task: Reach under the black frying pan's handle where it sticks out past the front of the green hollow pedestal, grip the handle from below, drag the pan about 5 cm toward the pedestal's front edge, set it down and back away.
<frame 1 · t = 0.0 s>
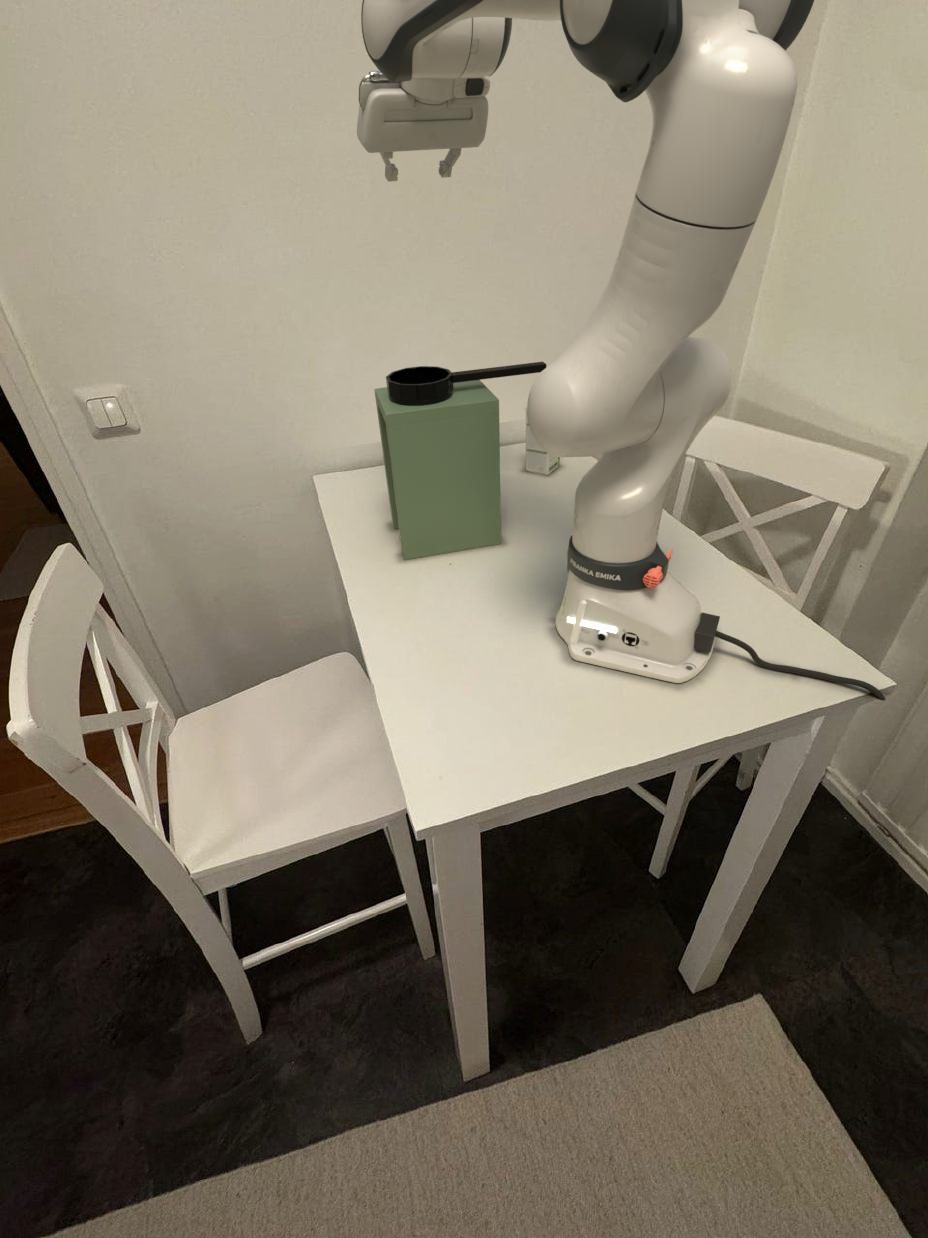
hand: (418, 177, 97), 54 cm above the table, tool tilted 30°, fingers open, 8 cm apart
syrup box: (542, 469, 136), on the table
green hollow pedestal: (444, 533, 114), on the table
pan: (421, 395, 98), point 26 cm above the table, touching green hollow pedestal
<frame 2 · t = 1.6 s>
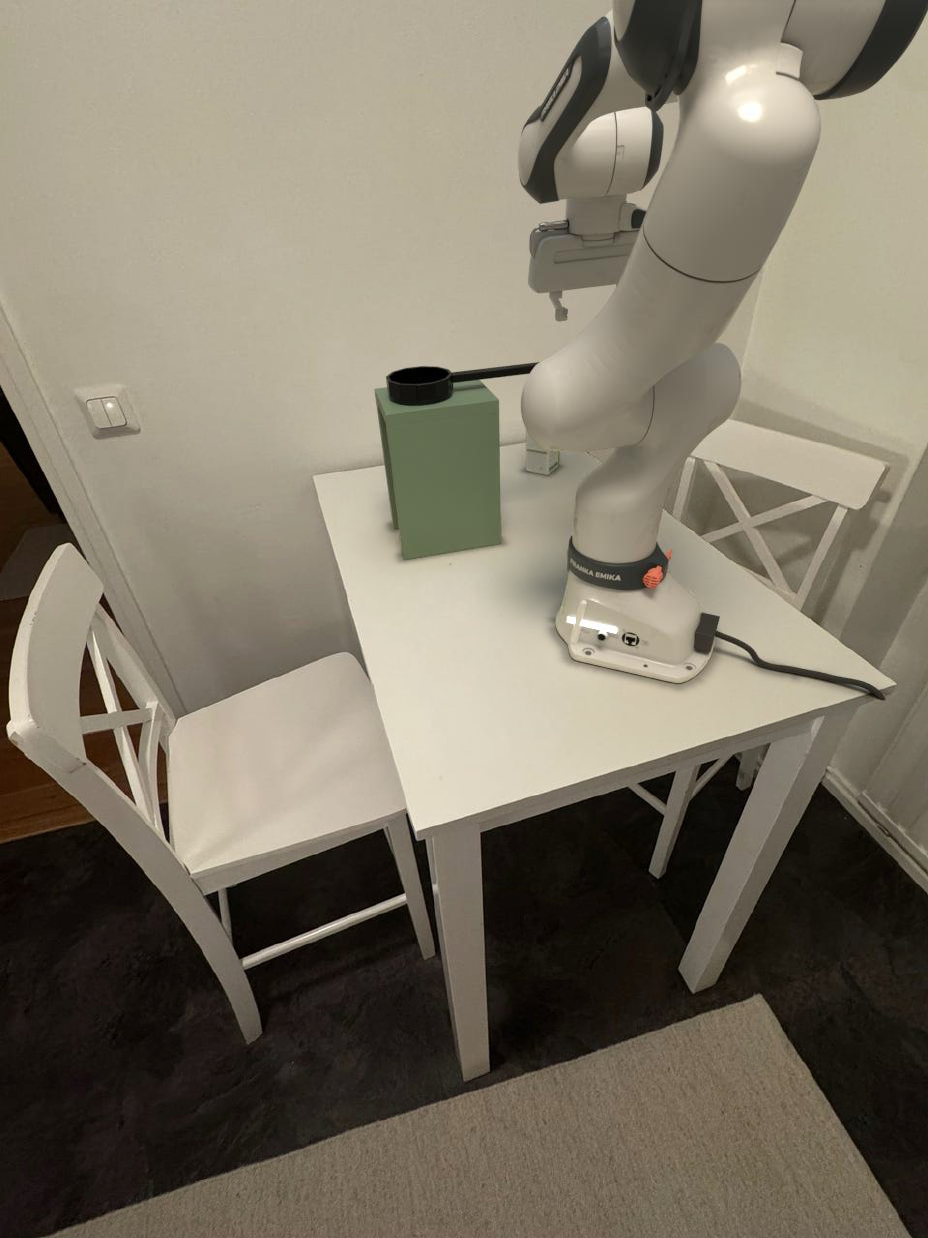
hand: (587, 316, 100), 35 cm above the table, tool pointing down, fingers open, 8 cm apart
nothing on the table moved.
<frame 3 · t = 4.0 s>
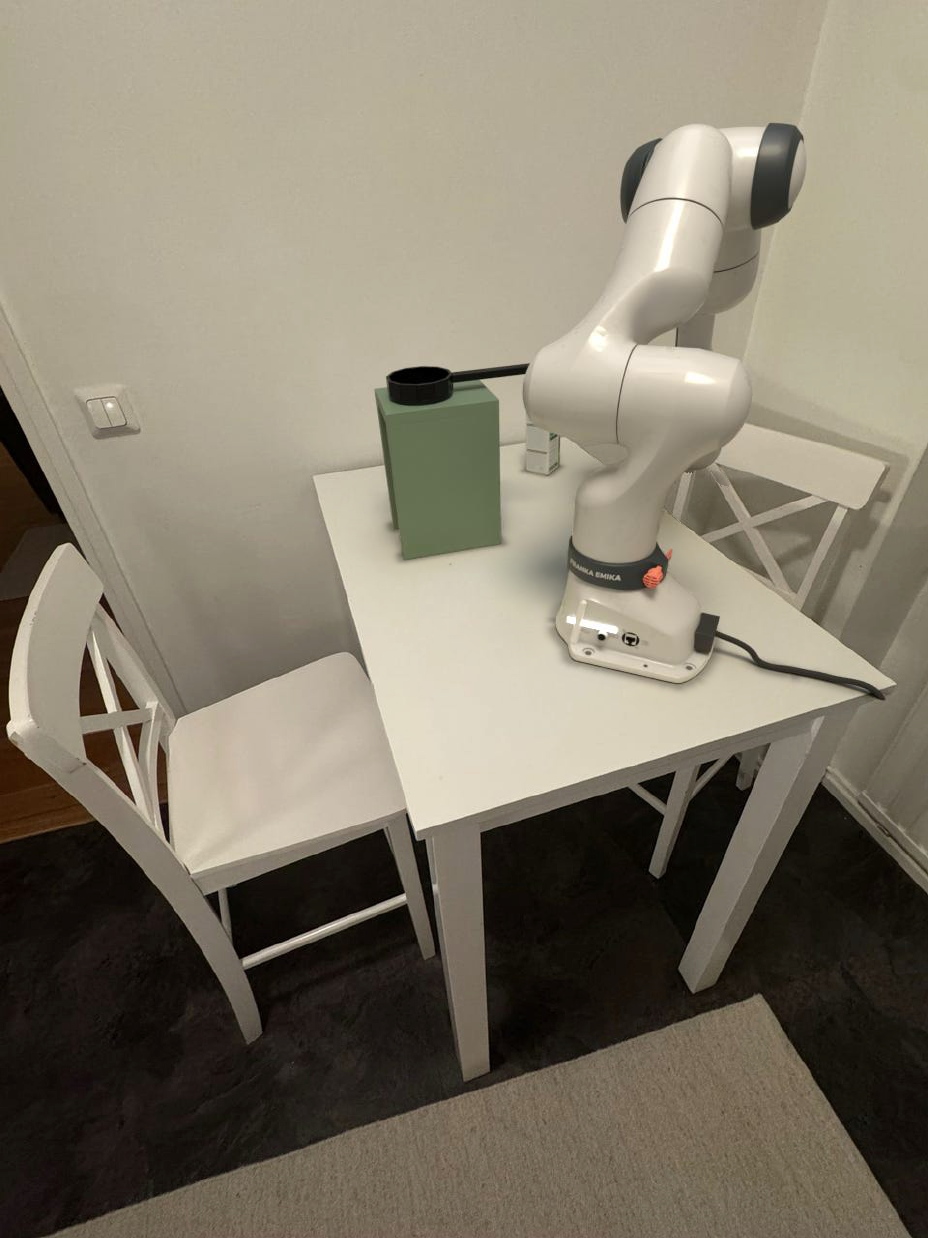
hand: (589, 397, 106), 22 cm above the table, tool pointing upward, fingers open, 8 cm apart
nothing on the table moved.
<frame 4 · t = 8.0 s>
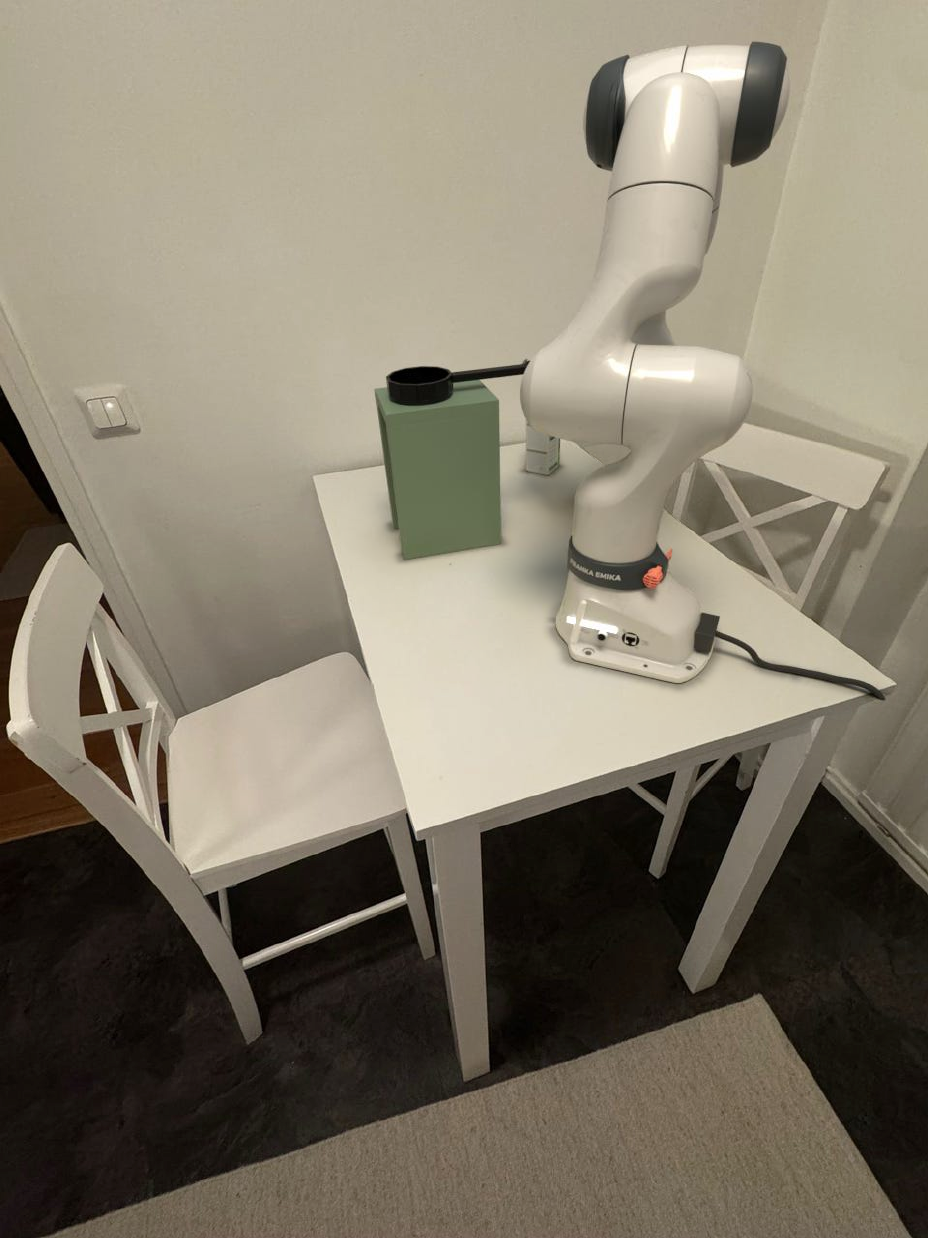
hand: (526, 365, 100), 29 cm above the table, tool pointing upward, fingers closed on pan, 2 cm apart
pan: (420, 395, 98), point 26 cm above the table, touching gripper, green hollow pedestal
everything else where it was.
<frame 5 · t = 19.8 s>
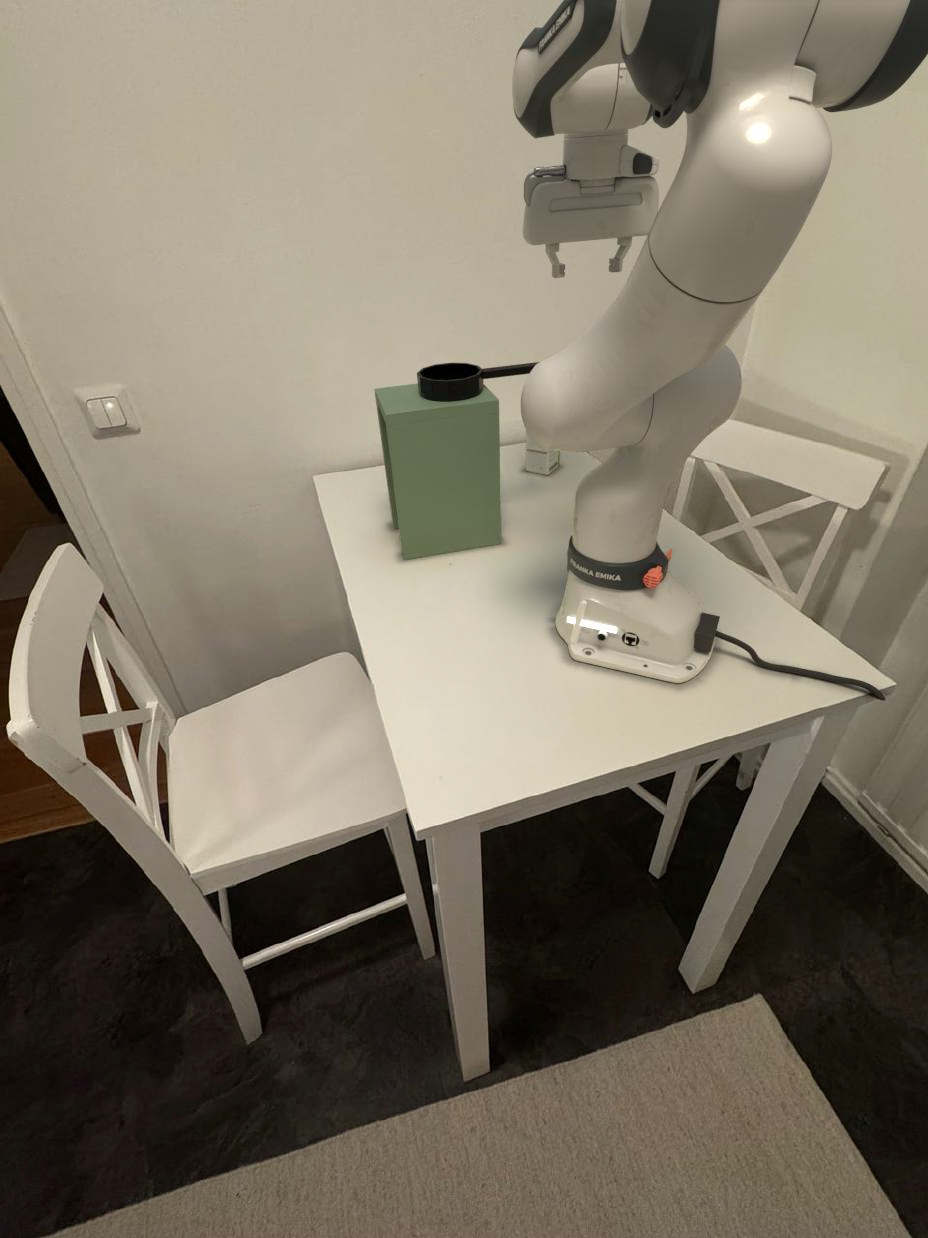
hand: (586, 274, 94), 41 cm above the table, tool pointing down, fingers open, 8 cm apart
pan: (451, 391, 99), point 26 cm above the table, touching green hollow pedestal
everything else where it was.
at the end: pan moved 5.0 cm from its start; pan point 26.0 cm above the table; pan tilted 0° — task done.
